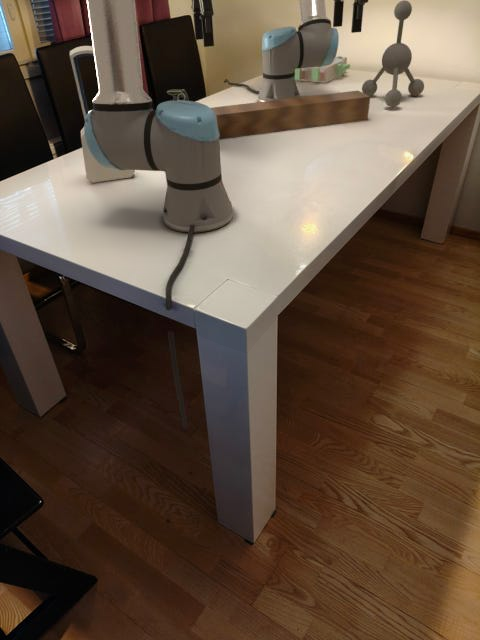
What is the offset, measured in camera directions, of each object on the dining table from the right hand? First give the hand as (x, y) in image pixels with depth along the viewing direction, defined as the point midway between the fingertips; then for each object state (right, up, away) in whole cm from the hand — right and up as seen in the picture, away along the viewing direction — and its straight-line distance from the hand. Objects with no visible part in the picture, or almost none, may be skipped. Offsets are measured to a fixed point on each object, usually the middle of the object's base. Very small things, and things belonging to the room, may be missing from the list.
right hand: (346, 29), depth 144 cm
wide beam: (-20, -24, +12) cm, 33 cm away
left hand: (-42, -8, -7) cm, 43 cm away
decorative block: (+3, +18, +64) cm, 67 cm away
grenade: (-52, -19, +21) cm, 59 cm away
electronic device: (-66, -48, -14) cm, 83 cm away
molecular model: (+25, -7, +31) cm, 41 cm away
